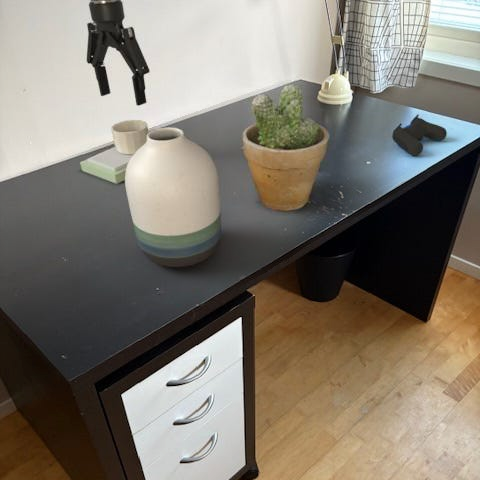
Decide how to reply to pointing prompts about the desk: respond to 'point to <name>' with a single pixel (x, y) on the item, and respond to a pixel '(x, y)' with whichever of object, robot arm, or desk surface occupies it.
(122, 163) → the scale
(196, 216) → the vase
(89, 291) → the desk surface
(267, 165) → the potted plant
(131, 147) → the beige cup
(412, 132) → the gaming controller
